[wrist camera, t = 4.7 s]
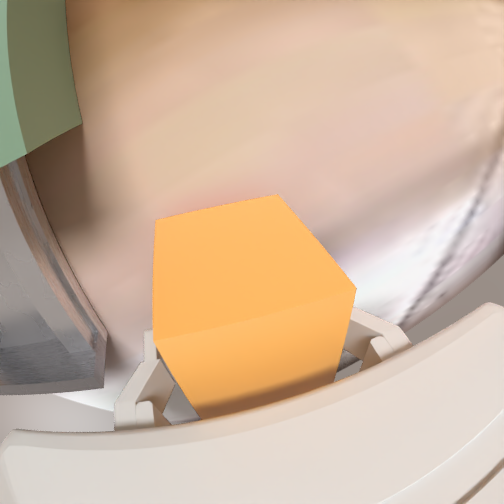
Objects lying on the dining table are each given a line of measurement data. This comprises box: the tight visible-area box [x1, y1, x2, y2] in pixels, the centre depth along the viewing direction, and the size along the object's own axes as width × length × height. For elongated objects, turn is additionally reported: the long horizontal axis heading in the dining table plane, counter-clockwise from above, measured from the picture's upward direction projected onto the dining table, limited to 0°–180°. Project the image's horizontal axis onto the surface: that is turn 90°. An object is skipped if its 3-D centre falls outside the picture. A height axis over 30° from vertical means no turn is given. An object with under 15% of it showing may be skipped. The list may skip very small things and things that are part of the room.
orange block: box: [153, 194, 357, 420], centre depth 11 cm, size 5×8×6 cm, turn 6°
